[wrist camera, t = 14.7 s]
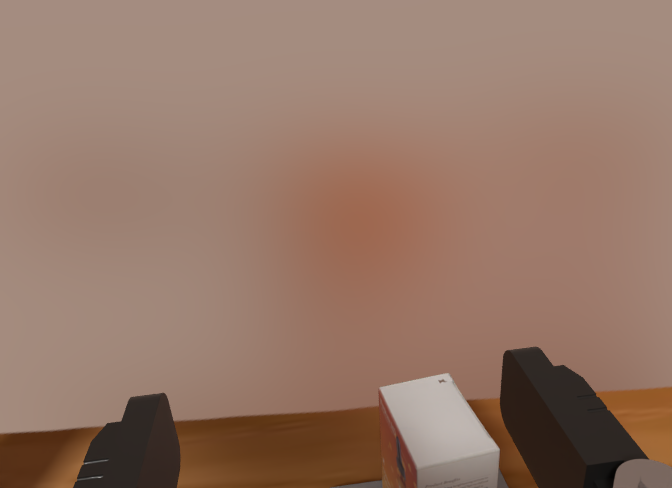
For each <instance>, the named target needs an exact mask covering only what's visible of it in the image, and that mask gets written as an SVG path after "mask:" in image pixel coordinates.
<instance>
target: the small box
mask: <svg viewBox="0 0 672 488" xmlns="http://www.w3.org/2000/svg"><path fill="white" fill-rule="evenodd" d="M379 411H380V439H381V463H382V487H383V488H497V481H498V469H499V456H500V448H499V447H498V446H497V444H496V443H495V442H494V440H493V439H492V438H491V436H490V435H489V434H488V432H487V431H486V429H485V428H484V426H483V425H482V424H481V422H480V421H479V419H478V418H477V416H476V415H475V413H474V412H473V410H472V409H471V407H470V406H469V404H468V403H467V401H466V400H465V398H464V397H463V395H462V394H461V392H460V391H459V389H458V388H457V386H456V384H455V383H454V381H453V379H452V377H451V375H450V374H449V373H446V374H441V375H435V376H432V377H426V378H421V379H417V380H412V381H407V382H402V383H398V384H393V385H388V386H384V387H380V388H379Z"/></svg>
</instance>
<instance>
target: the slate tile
mask: <svg viewBox="0 0 672 488" xmlns="http://www.w3.org/2000/svg"><path fill="white" fill-rule="evenodd" d="M331 488H383V487H382V480H380V481H373V482H366V483H359V484H352V485H345V486H338V487H331ZM497 488H508V486H507V484H506V482H505V480H504V477H503V475H502V473H501V471H500V469H498V481H497Z"/></svg>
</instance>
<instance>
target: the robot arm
mask: <svg viewBox="0 0 672 488" xmlns="http://www.w3.org/2000/svg"><path fill="white" fill-rule="evenodd" d="M500 408H501V414H502V418H503V421H504V424H505V426H506V428H507V430H508V432H509V434H510V436H511V437H512V439H513V441H514V443H515V445H516V447H517V449H518V450H519V452H520V454H521V456H522V458H523V460H524V461H525V463H526V465H527V467H528V469H529V471H530V473H531V474H532V476H533V478H534V480H535V482H536V484H537V485H538V487H539V488H672V467H670V466H668V465H666V464H663V463H660V462H657V461H653V460H649V459H648V457H647V456H646V455H645V454H644V452H643V451H642V450H641V449H640V448H639V446H638V445H637V444H636V443H635V441H634V440H633V439H632V438H631V436H630V435H629V434H628V433H627V431H626V430H625V429H624V428H623V427H622V425H621V424H620V423H619V422H618V420H617V419H616V418H615V417H614V415H613V414H612V413H611V412H610V410H609V411H608V410H607V407H606V406H605V404H604V403H603V402H602V401H601V399H600V398H599V397H597V396H596V393H595V392H594V391H593V389H592V388H591V387H590V386H589V385H588V383H587V382H586V381H585V380H584V378H583V377H581V376H579V375H578V374H576V373H575V372H573V371H572V370H570V369H568V368H567V367H565V366H564V365H561V366H553V365H552V363H551V362H550V361H549V360H548V358H547V357H546V356H545V354H544V353H543V352H542V350H541V349H540V348H538V347H530V348H522V349H514V350H507V351H505V353H504V356H503V366H502V380H501V394H500ZM83 462H84V465H82V467H81V469H80V472H79V474H78V477H77V482H75V484H74V487H73V488H177V482H178V477H179V471H180V446H179V441H178V437H177V433H176V429H175V425H174V421H173V417H172V414H171V410H170V406H169V402H168V399H167V396H166V394H165V393H160V394H152V395H144V396H137V397H131V398H130V399H129V401H128V404H127V407H126V410H125V413H124V415H123V418H122V421H121V422H115V423H107V424H106V426H105V427H104V428H103V429H102V430H101V431H100V432H99V433H98V435H97V436H96V437H95V438H94V439H93V440H92V441H91V444H90V446H89V449H88V451H87V454H86V456H85V459H84V461H83Z"/></svg>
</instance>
